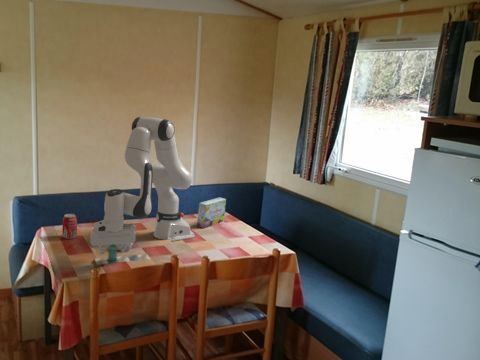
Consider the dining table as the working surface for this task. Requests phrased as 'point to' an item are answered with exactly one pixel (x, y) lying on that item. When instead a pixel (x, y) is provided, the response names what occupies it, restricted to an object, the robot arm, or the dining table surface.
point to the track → (120, 259)
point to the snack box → (211, 212)
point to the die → (119, 246)
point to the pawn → (112, 253)
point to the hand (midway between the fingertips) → (112, 252)
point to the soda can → (69, 226)
